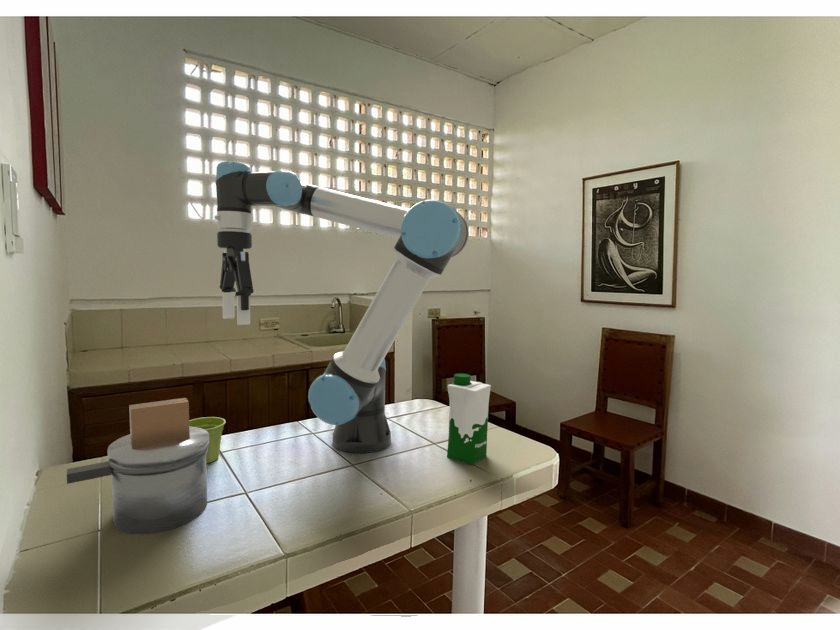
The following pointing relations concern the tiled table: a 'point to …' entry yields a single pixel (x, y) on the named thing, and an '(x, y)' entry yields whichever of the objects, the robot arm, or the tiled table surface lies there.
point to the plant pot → (211, 434)
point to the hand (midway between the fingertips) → (235, 321)
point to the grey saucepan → (152, 492)
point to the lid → (158, 435)
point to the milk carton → (468, 419)
